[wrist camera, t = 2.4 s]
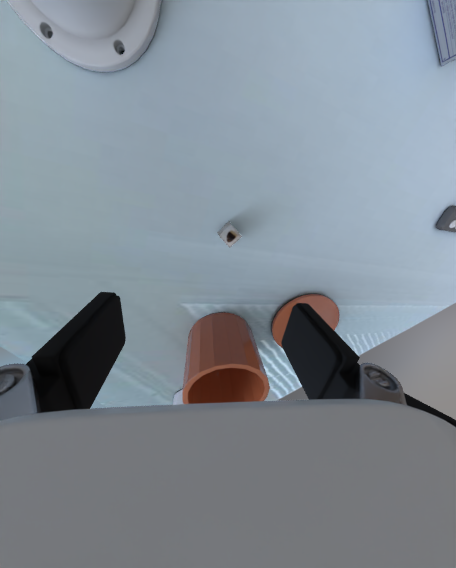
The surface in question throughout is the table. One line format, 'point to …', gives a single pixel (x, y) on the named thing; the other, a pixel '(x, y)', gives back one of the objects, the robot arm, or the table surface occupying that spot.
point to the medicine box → (444, 28)
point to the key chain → (448, 220)
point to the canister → (223, 362)
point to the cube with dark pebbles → (229, 234)
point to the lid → (317, 302)
